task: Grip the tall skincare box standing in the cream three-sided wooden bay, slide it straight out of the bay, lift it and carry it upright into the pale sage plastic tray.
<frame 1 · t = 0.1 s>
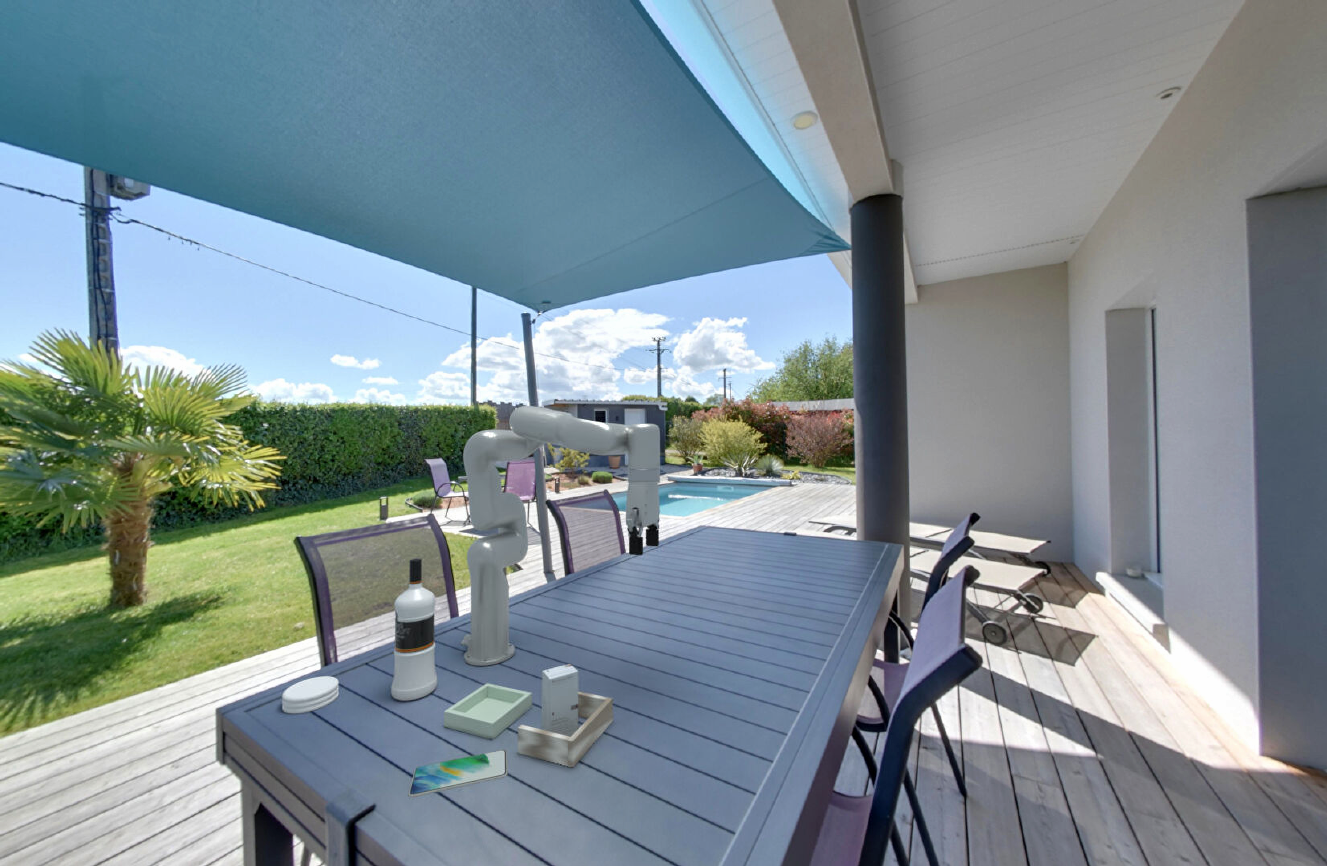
hand: (644, 550, 112), 31 cm above the table, tool pointing down, fingers open, 9 cm apart
tray: (489, 716, 98), on the table
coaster: (311, 703, 105), on the table
bay: (567, 736, 92), on the table
vodka: (414, 692, 109), on the table
smartphone: (460, 776, 82), on the table
skincare box: (560, 735, 92), on the table
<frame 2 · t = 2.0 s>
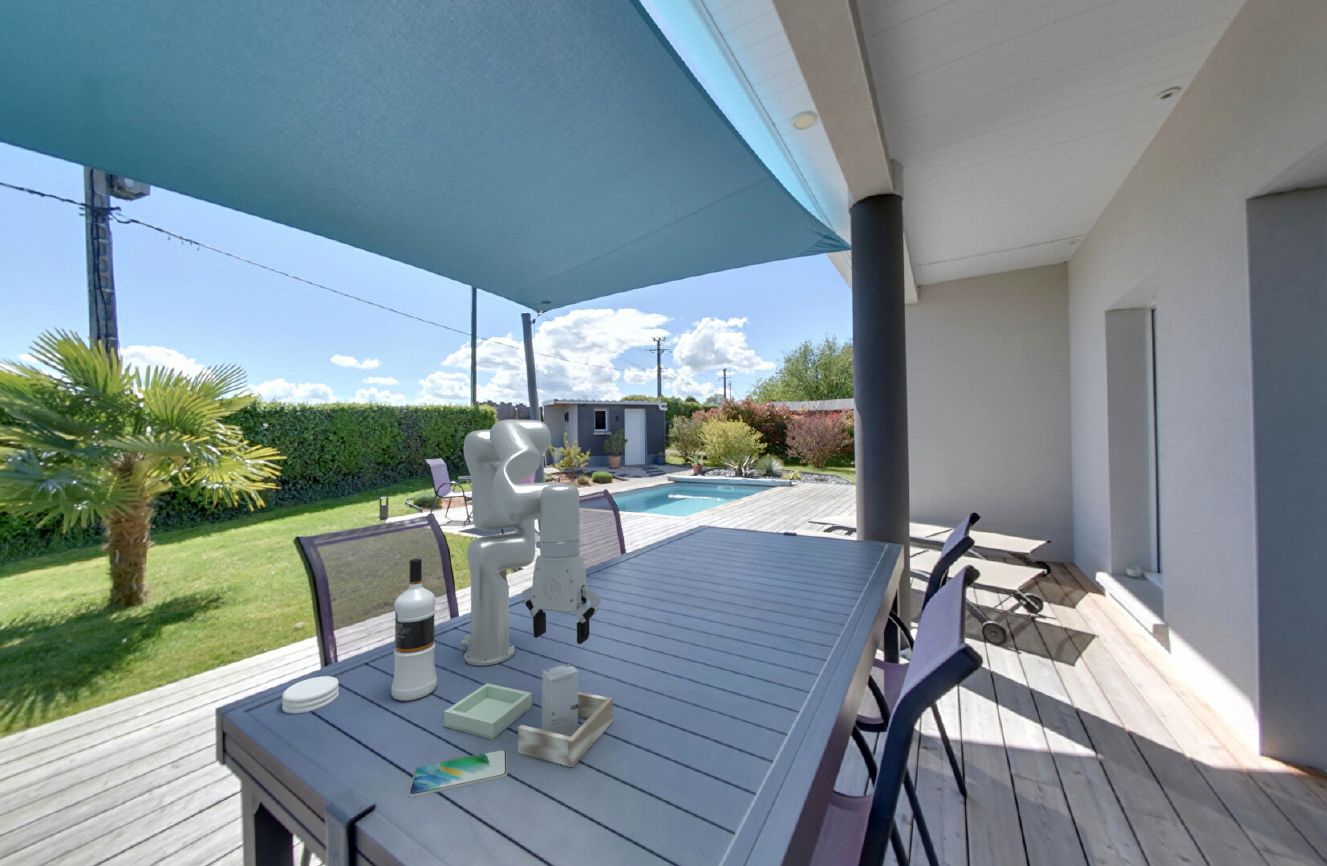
hand: (561, 638, 92), 18 cm above the table, tool pointing down, fingers open, 9 cm apart
nothing on the table moved.
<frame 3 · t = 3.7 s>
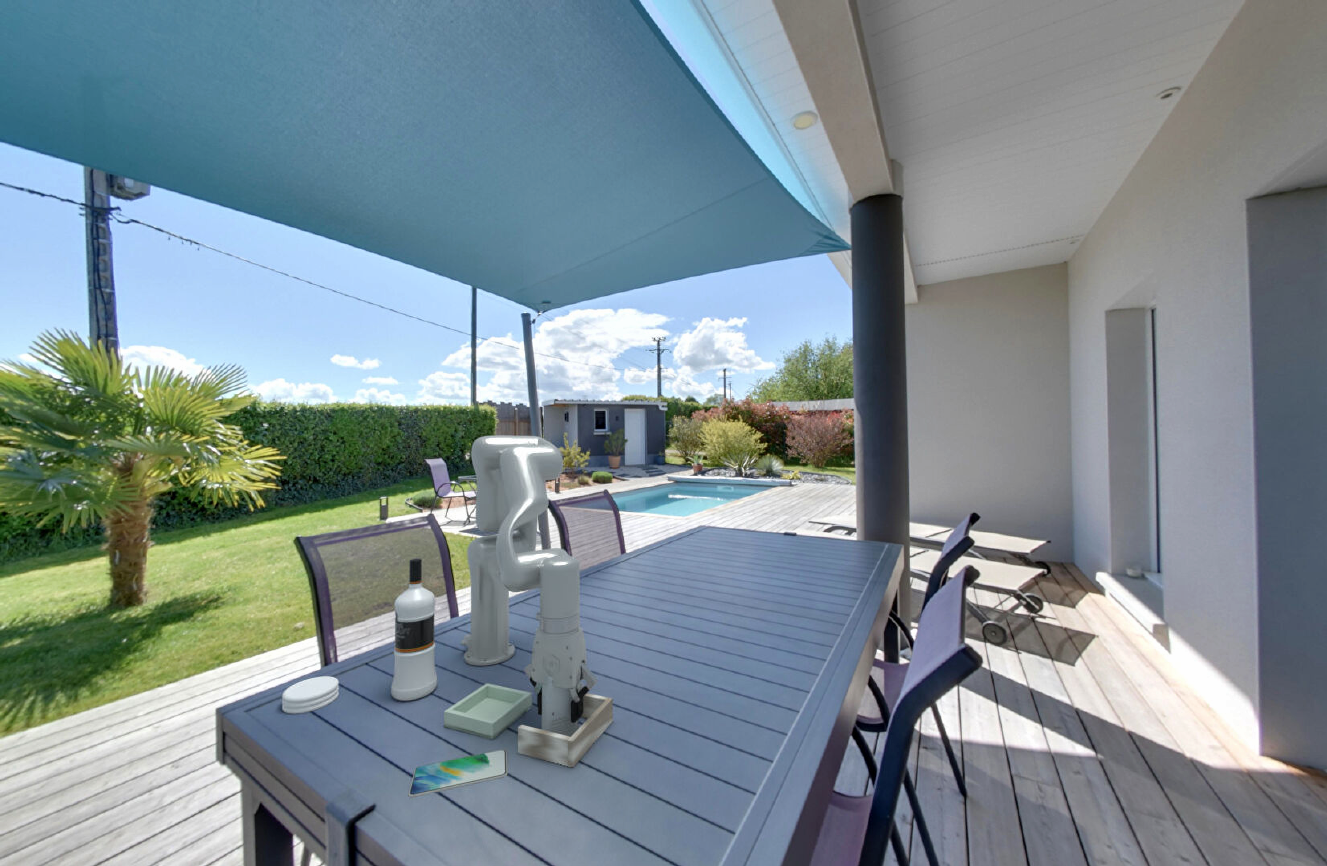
hand: (560, 714, 92), 4 cm above the table, tool pointing down, fingers closed on skincare box, 6 cm apart
skincare box: (560, 735, 92), on the table, touching gripper
everything else where it was.
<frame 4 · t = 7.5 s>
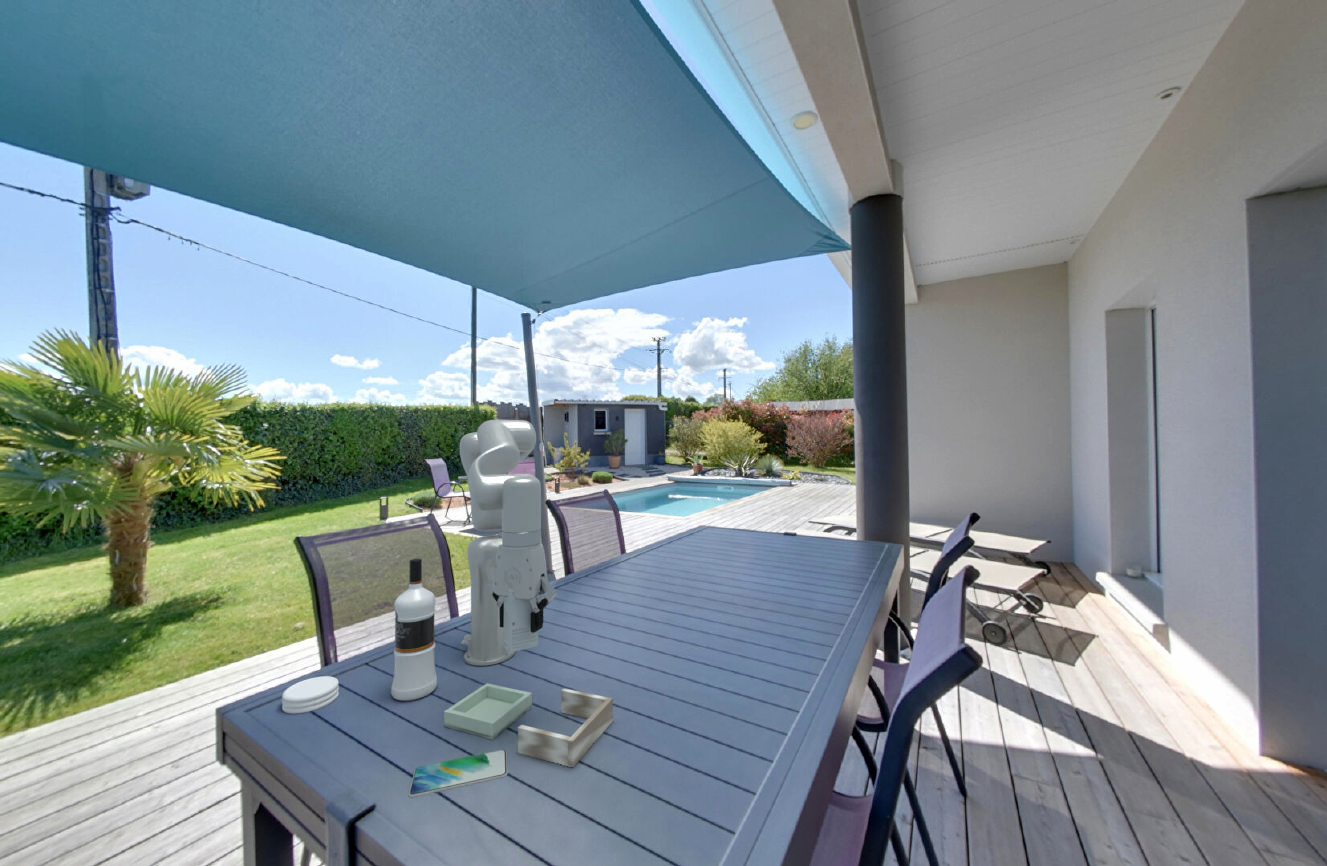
hand: (521, 626, 96), 19 cm above the table, tool pointing down, fingers closed on skincare box, 6 cm apart
skincare box: (521, 646, 96), point 15 cm above the table, touching gripper
everything else where it was.
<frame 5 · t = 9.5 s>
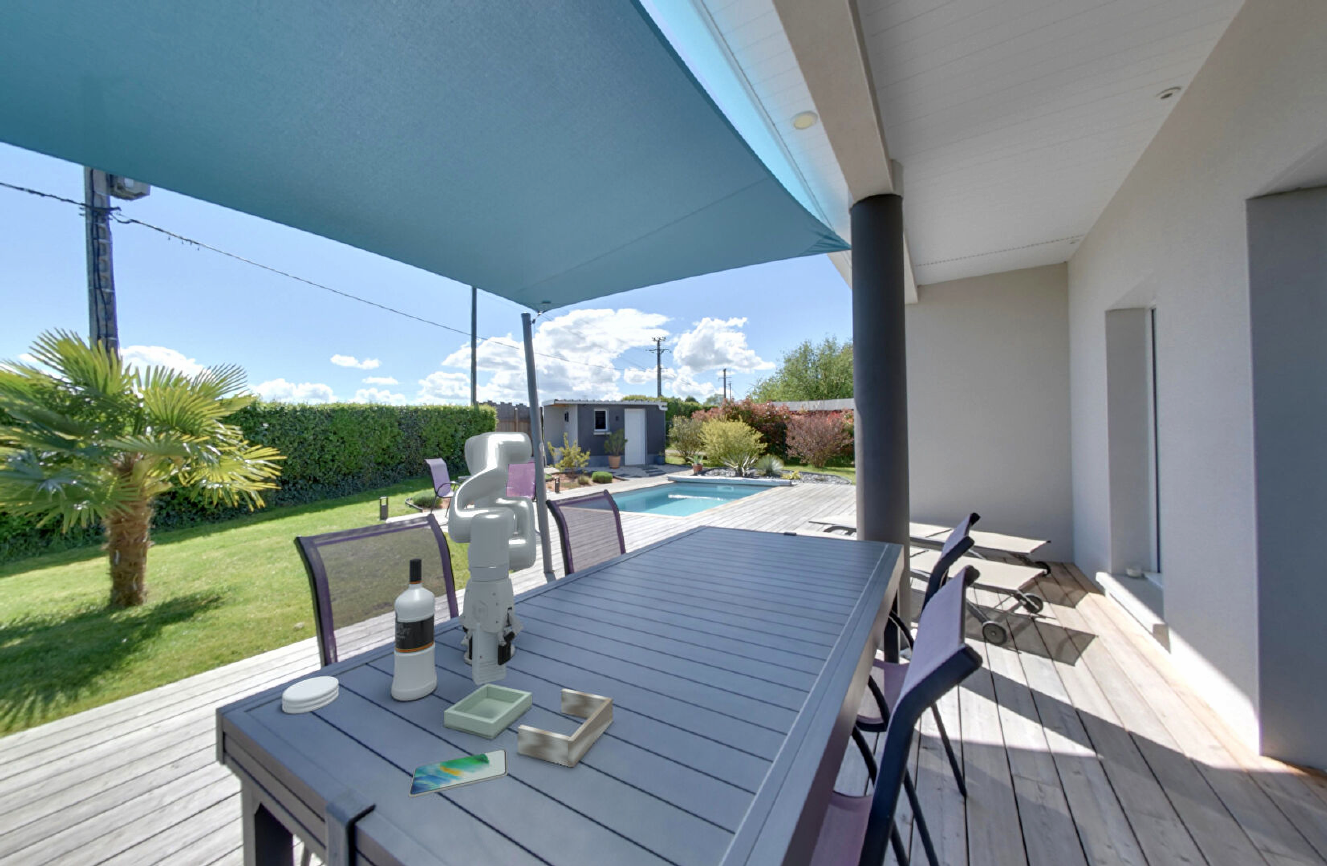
hand: (489, 659, 99), 12 cm above the table, tool pointing down, fingers closed on skincare box, 6 cm apart
skincare box: (489, 679, 98), point 8 cm above the table, touching gripper
everything else where it was.
when the fingers open (6 cm above the table, at t = 11.1 s): skincare box drops 1 cm, resting on tray.
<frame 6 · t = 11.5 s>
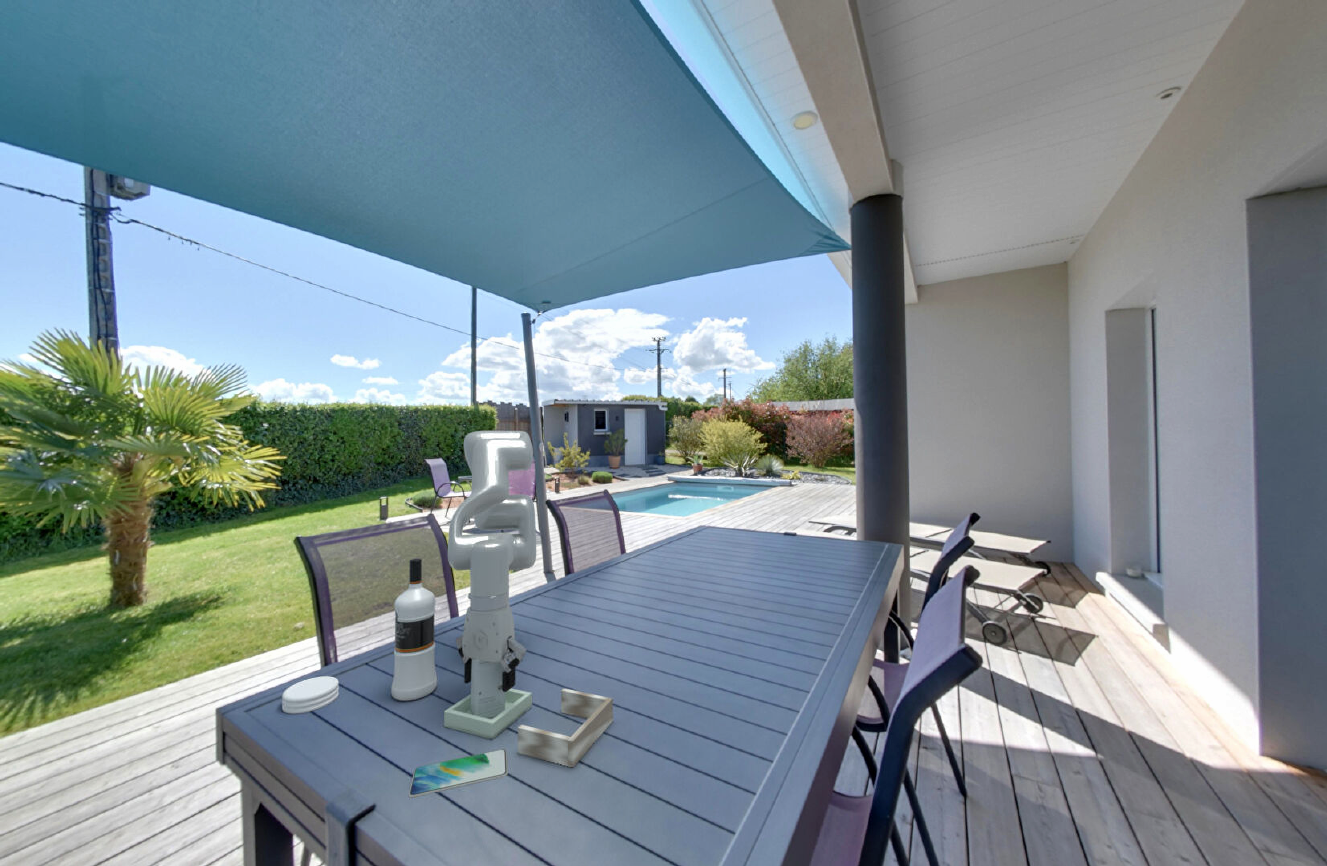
hand: (489, 684, 99), 7 cm above the table, tool pointing down, fingers open, 9 cm apart
skincare box: (488, 714, 99), resting on tray
everything else where it was.
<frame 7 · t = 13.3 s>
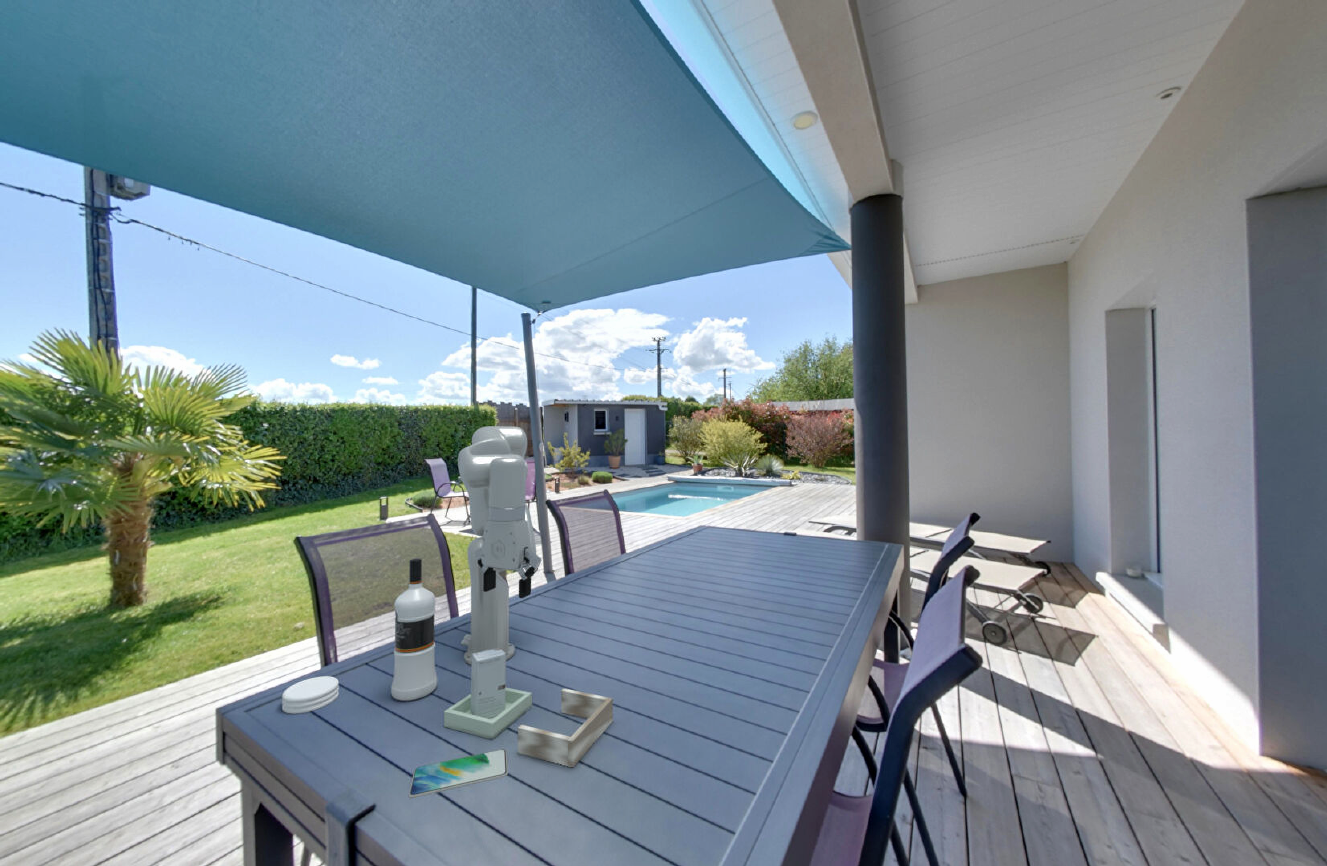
hand: (506, 593, 104), 24 cm above the table, tool pointing down, fingers open, 9 cm apart
nothing on the table moved.
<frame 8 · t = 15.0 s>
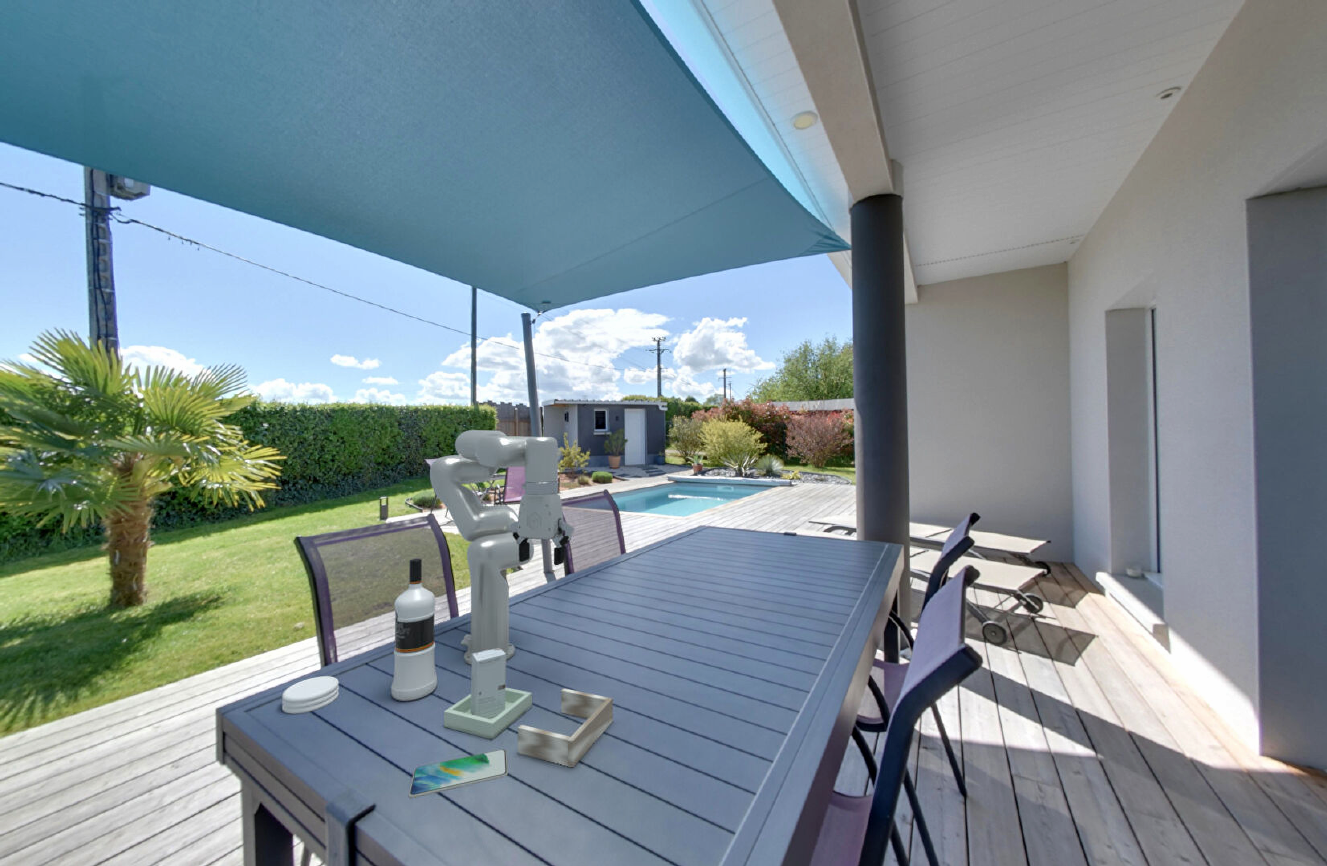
hand: (541, 562, 112), 28 cm above the table, tool pointing down, fingers open, 9 cm apart
nothing on the table moved.
at the end: skincare box 0.4 cm off-centre on the tray, point 0.4 cm above the tray's base; skincare box tilted 0°; the gripper is holding nothing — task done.
